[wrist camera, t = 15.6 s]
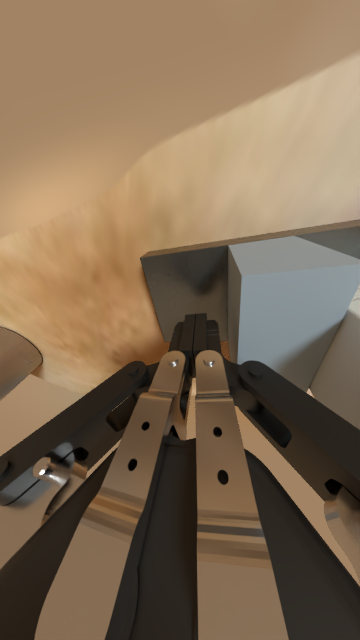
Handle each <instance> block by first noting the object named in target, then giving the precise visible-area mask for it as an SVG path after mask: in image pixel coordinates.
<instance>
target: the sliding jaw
mask: <svg viewBox="0 0 360 640" xmlns="http://www.w3.org/2000/svg"><path fill="white" fill-rule="evenodd" d="M359 285H360V259H357V258H355V257H352V256H349V255H346V254H343V253H341V252H338V251H335V250H332V249H330V248H327V247H324V246H321V245H318V244H316V243H313V242H310V241H307V240H304V239H302V238H299V237H296V236H289V237H282V238H275V239H268V240H261V241H255V242H248V243H241V244H234V245H228V345H229V353H230V361H231V362H232V363H236V364H240V365H241V364H242V363H244V362H246V361H250V360H254V361H259V362H262V363H264V364H265V365H267V366H268V367H270V368H271V369H273V370H274V371H275V372H277V373H278V374H280V375H281V376H283V377H284V378H286V379H287V380H288V381H290V382H291V383H293V384H294V385H296V386H297V387H299V388H300V389H301V390H303V391H304V392H307V390H308V388H309V386H310V384H311V382H312V380H313V378H314V376H315V374H316V372H317V370H318V368H319V366H320V364H321V362H322V360H323V358H324V356H325V354H326V352H327V350H328V348H329V346H330V344H331V342H332V340H333V338H334V335H335V333H336V331H337V329H338V327H339V325H340V323H341V321H342V319H343V317H344V315H345V313H346V311H347V309H348V307H349V305H350V303H351V301H352V299H353V297H354V295H355V293H356V291H357V289H358V287H359Z"/></svg>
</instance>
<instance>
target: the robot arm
mask: <svg viewBox="0 0 360 640" xmlns="http://www.w3.org/2000/svg"><path fill="white" fill-rule="evenodd" d="M41 362H42V357H41V355H40V353H39V352H38V350H37V349H36V348H35V347H34V346H33V345H32V344H31V343H30V342H28V341H27V340H26V339H24V338H23V337H21V336H20V335H18V334H16V333H14V332H12V331H10V330H7V329H5V328H1V327H0V401H1V400H2V399H3V398H4V397H5V396H6V395H7V394H8V393H9V392H10V391H12V390H13V389H14V388H15V387H16V386H17V385H18V384H19V383H20V382H21V381H23V380H24V379H25V378H26V377H27V376H28V375H29V374H30V373H31V372H32V371H33V370H34V369H35V368H37V367H38V366H39V365H40V364H41ZM192 378H196V397H195V413H196V438H194V439H189V440H186V437H187V436H186V435H187V417H188V410H189V405H190V398H191V392H192ZM130 395H131V396H130ZM126 398H127V399H126ZM125 399H126V400H125ZM124 400H125V401H124ZM123 401H124V402H123ZM120 403H121V404H120ZM119 404H120V405H119ZM118 405H119V406H118ZM234 405H235V406H237V407H239V409H240V410H241V412H242V413H243V414H244V415H245V416H246V417H247V418H248V419H249V420H250V421H251V423H252V424H253V425H254V426H255V427H256V428H257V429H258V430H259V431H260V432H261V433H262V434H263V435H264V436H265V438H266V439H268V441H269V442H270V443H271V444H272V445H273V446H274V447H275V448H276V449H277V451H278V452H279V453H280V454H281V455H282V456H283V457H284V458H285V459H286V460H287V461H288V462H289V463H290V465H291V466H292V467H293V468H294V469H295V470H296V471H297V472H298V473H299V474H300V475H301V476H302V478H303V479H304V480H305V481H306V482H307V483H308V484H309V485H310V486H311V487H312V488H313V489H314V490H315V491H316V493H317V494H318V495H319V496H320V497H321V498H322V499H323V500H324V501H325V504H324V514H325V518H326V522H327V524H328V527H329V529H330V531H331V533H332V535H333V536H334V538H335V540H336V541H337V543H338V544H339V545H340V547H341V548H342V550H343V551H344V552H345V554H346V555H347V556H348V558H349V560H350V562H351V563H352V565H353V567H354V569H355V571H356V574H357V576H358V578H359V581H360V430H359V429H358V428H356V427H355V426H353V425H352V424H351V423H349V422H348V421H346V420H345V419H343V418H342V417H340V416H339V415H338V414H336V413H335V412H333V411H332V410H330V409H329V408H327V407H326V406H325V405H323V404H322V403H320V402H319V401H317V400H316V399H314V398H313V397H312V396H310V395H309V394H307V393H306V392H304V391H303V390H301V389H300V388H299V387H297V386H296V385H294V384H293V383H291V382H290V381H288V380H287V379H286V378H284V377H283V376H281V375H280V374H278V373H277V372H275V371H274V370H273V369H271V368H270V367H268V366H267V365H265V364H264V363H262V362H259V361H254V360H250V361H246V362H244V363H242V364H241V365H240V364H236V363H232V362H230V361H228V360H227V359H225V358H224V357H223V355H222V353H221V345H220V336H219V326H218V323H217V322H216V321H215V320H207V313H201V314H187V315H185V320H184V322H178V323H177V325H176V326H175V328H174V331H173V335H172V339H171V343H170V347H169V351H168V353H166V354H165V355H164V356H163V357H162V358H161V361H160V362H158V363H155V364H152V365H148V366H146V365H145V363H144V362H142V361H134V362H131V363H129V364H128V365H126V366H125V367H123V368H122V369H121V370H119V371H118V372H116V373H115V374H114V375H112V376H111V377H110V378H108V379H107V380H105V381H104V382H103V383H101V384H100V385H98V386H97V387H96V388H94V389H93V390H92V391H90V392H89V393H87V394H86V395H85V396H83V397H82V398H81V399H79V400H78V401H76V402H75V403H74V404H73V405H71V406H69V407H68V408H67V409H65V410H64V411H63V412H61V413H60V414H58V415H57V416H56V417H54V418H53V419H51V420H50V421H49V422H47V423H46V424H45V425H43V426H42V427H40V428H39V429H38V430H36V431H35V432H33V433H32V434H31V435H29V436H28V437H27V438H25V439H24V440H23V441H21V442H20V443H19V444H17V445H16V446H14V447H13V448H12V449H10V450H9V451H7V452H6V453H4V454H3V455H2V456H0V640H360V587H359V585H358V584H357V583H356V581H355V580H354V579H353V577H352V576H351V575H350V574H349V572H348V571H347V570H346V568H345V567H344V566H343V564H342V563H341V562H340V561H339V559H338V558H337V557H336V555H335V554H334V553H333V552H332V550H331V549H330V548H329V546H328V545H327V544H326V542H325V541H324V540H323V539H322V537H321V536H320V535H319V533H318V532H317V531H316V530H315V528H314V527H313V526H312V525H311V523H310V522H309V521H308V519H307V518H306V517H305V515H304V514H303V513H302V511H301V510H300V509H299V508H298V506H297V505H296V504H295V503H294V501H293V500H292V499H291V497H290V496H289V495H288V494H287V492H286V491H285V490H284V488H283V487H282V486H281V484H280V483H279V482H278V481H277V479H276V478H275V477H274V475H273V474H272V473H271V472H270V470H269V469H268V468H267V467H266V466H265V465H264V464H263V463H262V462H261V461H260V460H259V459H258V458H257V457H256V456H254V455H253V454H252V453H250V452H249V451H248V450H246V449H244V447H243V442H242V438H241V434H240V429H239V424H238V420H237V416H236V411H235V406H234ZM117 406H118V407H117ZM113 409H114V410H113ZM112 410H113V411H112ZM121 438H122V439H121ZM120 439H121V441H120V444H119V446H118V448H116V449H115V450H114V451H113V452H112V453H111V454H110V455H109V456H108V457H107V458H106V459H105V460H104V461H103V462H102V463H101V464H100V465H99V467H98V468H97V469H96V470H95V471H94V472H93V473H92V474H91V475H90V476H89V477H88V478H86V475H87V471H88V470H89V469H90V468H92V466H94V464H96V463H97V462H98V461H99V460H100V459H101V458H102V457H103V456H104V455H105V454H106V453H107V452H108V451H109V450H110V449H111V448H112V447H113V446H114V445H115V444H116V443H117V442H118V441H119V440H120Z"/></svg>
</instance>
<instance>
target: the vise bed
mask: <svg viewBox="0 0 360 640" xmlns="http://www.w3.org/2000/svg"><path fill="white" fill-rule="evenodd" d="M289 236H296V237H299V238H302V239H304V240H307V241H310V242H313V243H316V244H318V245H321V246H324V247H327V248H330V249H332V250H335V251H338V252H341V253H343V254H346V255H349V256H352V257H355V258H357V259H360V220H354V221H348V222H341V223H334V224H328V225H321V226H315V227H308V228H302V229H295V230H289V231H282V232H276V233H269V234H262V235H256V236H249V237H243V238H236V239H230V240H223V241H217V242H210V243H204V244H197V245H190V246H184V247H177V248H171V249H164V250H158V251H151V252H147V253H146V254H144V255H143V256H142V257H140V260H141V263H142V267H143V270H144V274H145V277H146V280H147V284H148V287H149V290H150V294H151V297H152V301H153V304H154V307H155V311H156V314H157V317H158V321H159V324H160V327H161V331H162V334H163V338H164V341H165V342H171V339H172V335H173V331H174V328H175V326H176V325H177V323H178V322H184V320H185V315H187V314H201V313H207V320H215V321H216V322H217V323H218V326H219V336H220V341H228V245H234V244H241V243H248V242H255V241H261V240H268V239H275V238H282V237H289Z"/></svg>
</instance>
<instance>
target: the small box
mask: <svg viewBox="0 0 360 640" xmlns="http://www.w3.org/2000/svg"><path fill="white" fill-rule="evenodd" d="M309 389H310V390H311V392H312V394H313V396H314V397H315V399H316V400H317V401H319V402H320V403H322V404H323V405H325V406H326V407H327V408H329V409H330V410H332V411H333V412H335V413H336V414H338V415H339V416H340V417H342V418H343V419H345V420H346V421H348V422H349V423H351V424H352V425H353V426H355V427H356V428H358V429H359V430H360V285H359V287H358V289H357V291H356V293H355V295H354V297H353V299H352V301H351V303H350V305H349V307H348V309H347V311H346V313H345V315H344V317H343V319H342V321H341V323H340V325H339V327H338V329H337V331H336V333H335V335H334V338H333V340H332V342H331V344H330V346H329V348H328V350H327V352H326V354H325V356H324V358H323V360H322V362H321V364H320V366H319V368H318V370H317V372H316V374H315V376H314V378H313V380H312V382H311V384H310V386H309Z"/></svg>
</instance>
